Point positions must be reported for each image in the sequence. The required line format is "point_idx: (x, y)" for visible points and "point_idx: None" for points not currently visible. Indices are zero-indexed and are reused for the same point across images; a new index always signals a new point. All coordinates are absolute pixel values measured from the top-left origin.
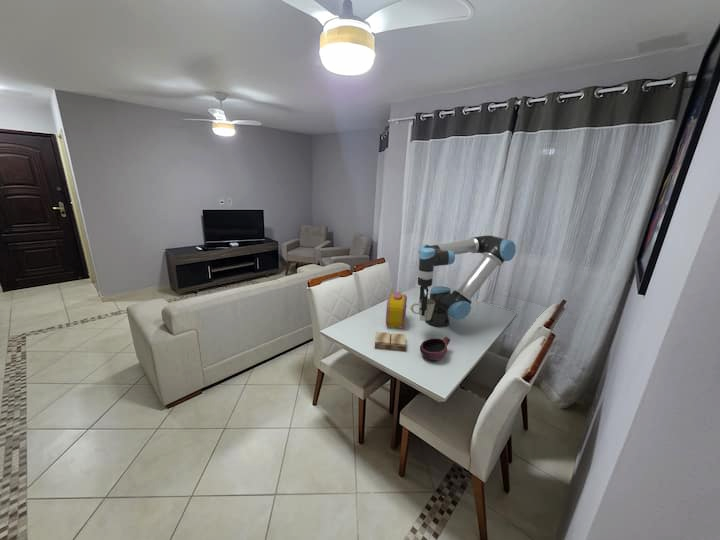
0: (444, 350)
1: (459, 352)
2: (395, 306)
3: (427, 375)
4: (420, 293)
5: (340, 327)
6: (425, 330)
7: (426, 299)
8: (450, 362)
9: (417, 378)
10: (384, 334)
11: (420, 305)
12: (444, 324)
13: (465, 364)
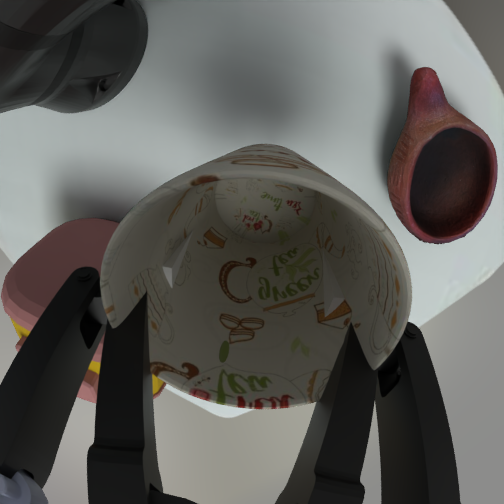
0: (496, 158)
1: (404, 27)
2: (152, 377)
3: (492, 231)
4: (160, 483)
5: (202, 400)
6: (181, 119)
7: (446, 471)
8: (465, 113)
9: (489, 263)
10: None
11: (289, 368)
12: (137, 11)
13: (476, 63)
